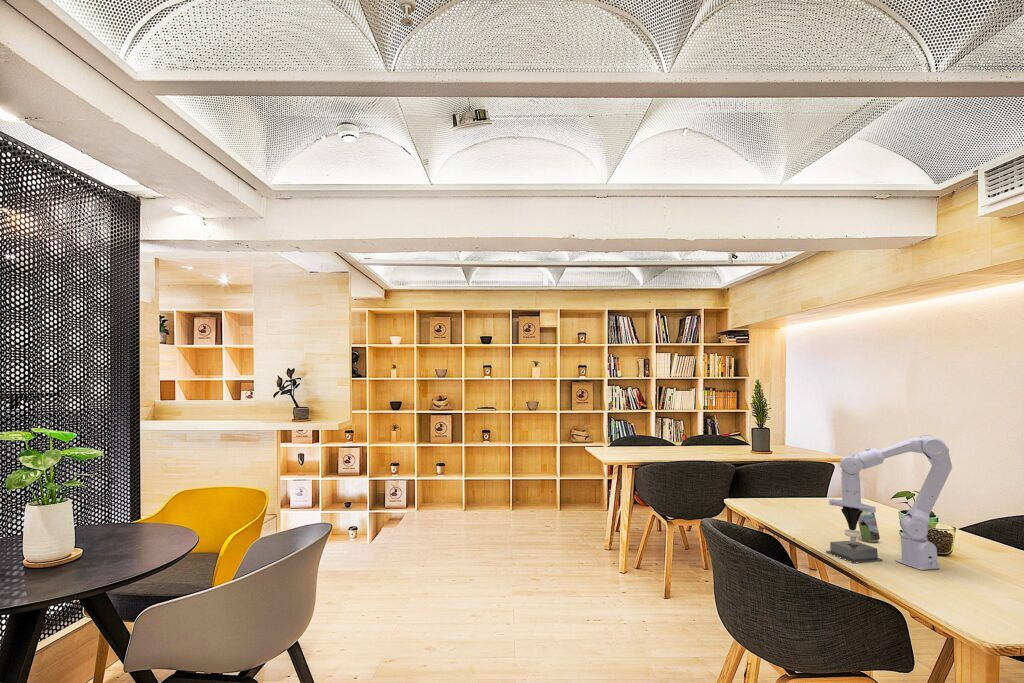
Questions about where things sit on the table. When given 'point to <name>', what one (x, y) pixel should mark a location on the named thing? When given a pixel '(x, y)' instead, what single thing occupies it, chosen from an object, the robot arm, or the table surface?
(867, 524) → the beverage can
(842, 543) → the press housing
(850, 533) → the plunger
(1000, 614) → the table surface
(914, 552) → the robot arm
